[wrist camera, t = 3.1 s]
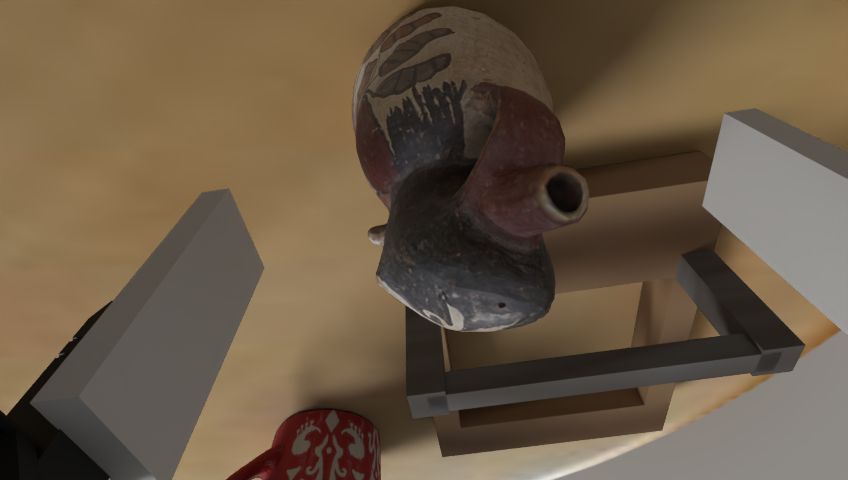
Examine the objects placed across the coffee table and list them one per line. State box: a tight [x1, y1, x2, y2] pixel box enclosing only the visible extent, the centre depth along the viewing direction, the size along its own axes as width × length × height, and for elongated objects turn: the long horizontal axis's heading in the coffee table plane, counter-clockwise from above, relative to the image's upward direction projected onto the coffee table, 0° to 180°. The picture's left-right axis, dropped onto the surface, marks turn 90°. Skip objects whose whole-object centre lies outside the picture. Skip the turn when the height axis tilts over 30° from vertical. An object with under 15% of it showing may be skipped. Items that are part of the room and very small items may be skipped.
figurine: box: [352, 6, 589, 332], centre depth 13 cm, size 7×7×12 cm
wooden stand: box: [406, 151, 805, 457], centre depth 22 cm, size 18×14×8 cm
